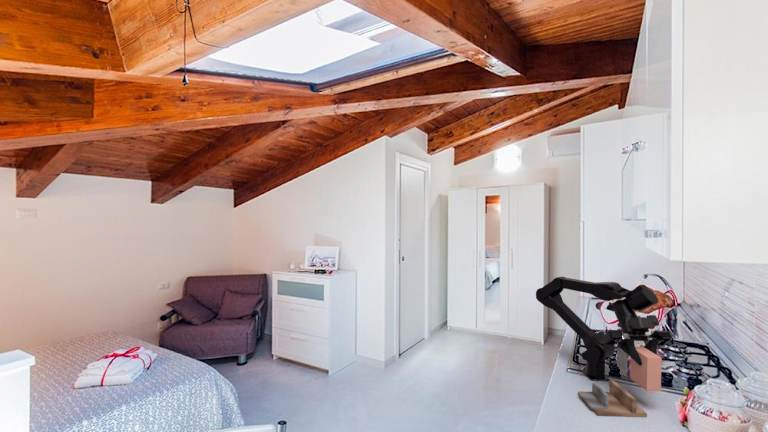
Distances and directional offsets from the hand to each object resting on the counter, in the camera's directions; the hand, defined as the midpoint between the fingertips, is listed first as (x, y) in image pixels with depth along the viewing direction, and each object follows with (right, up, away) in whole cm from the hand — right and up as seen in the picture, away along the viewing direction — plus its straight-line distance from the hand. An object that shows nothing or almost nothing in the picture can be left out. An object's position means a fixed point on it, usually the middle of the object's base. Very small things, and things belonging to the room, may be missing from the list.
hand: (648, 365), depth 111 cm
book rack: (-10, -13, +2) cm, 17 cm away
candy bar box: (+11, -13, +23) cm, 29 cm away
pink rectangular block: (0, -7, +2) cm, 7 cm away
